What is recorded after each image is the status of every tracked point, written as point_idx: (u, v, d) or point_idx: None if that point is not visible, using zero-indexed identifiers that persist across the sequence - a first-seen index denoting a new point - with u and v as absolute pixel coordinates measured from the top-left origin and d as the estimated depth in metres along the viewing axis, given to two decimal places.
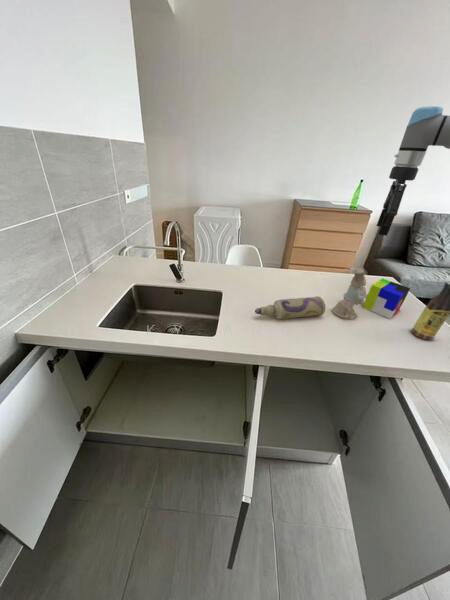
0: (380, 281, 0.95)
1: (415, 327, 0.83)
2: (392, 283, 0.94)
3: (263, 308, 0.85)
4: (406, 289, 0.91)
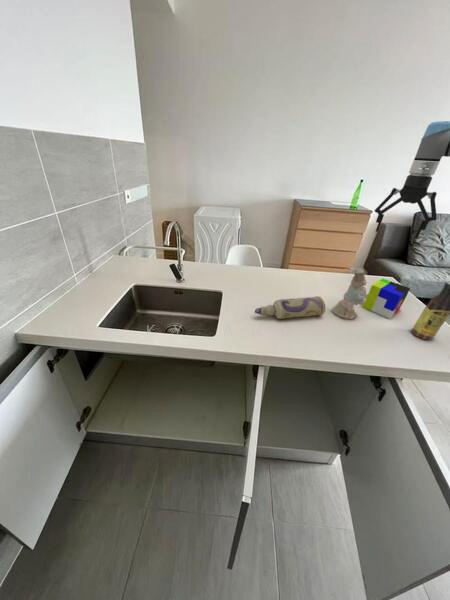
0: (380, 281, 0.95)
1: (415, 327, 0.83)
2: (392, 283, 0.94)
3: (263, 308, 0.85)
4: (406, 289, 0.91)
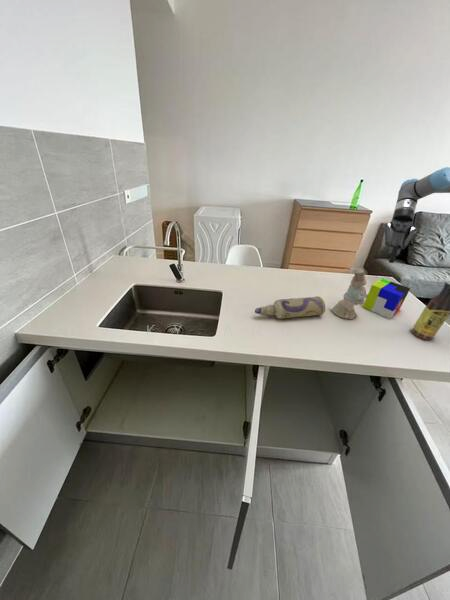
0: (380, 281, 0.95)
1: (415, 327, 0.83)
2: (392, 283, 0.94)
3: (263, 308, 0.85)
4: (406, 289, 0.91)
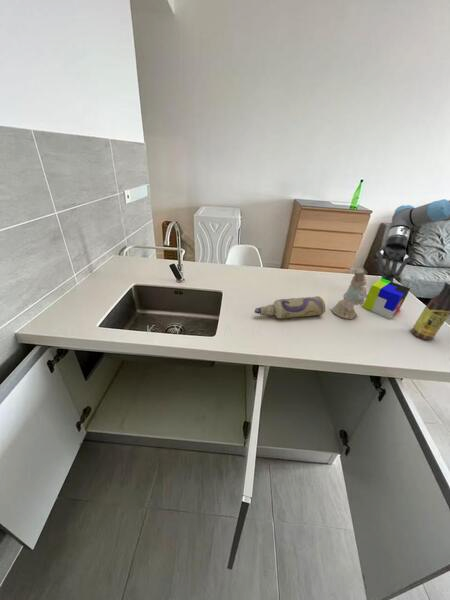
0: (380, 281, 0.95)
1: (415, 327, 0.83)
2: (392, 283, 0.94)
3: (263, 308, 0.85)
4: (406, 289, 0.91)
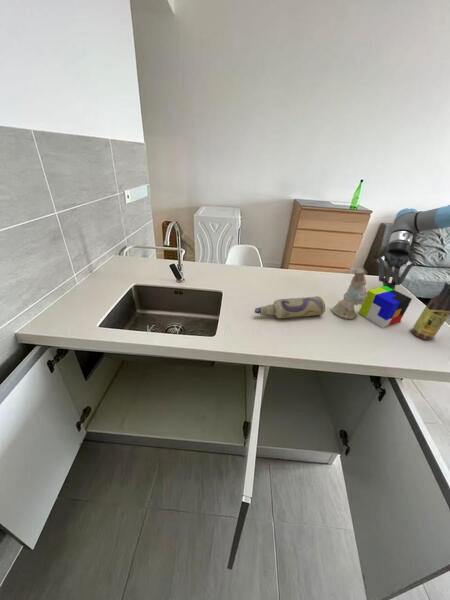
0: (380, 288, 0.90)
1: (415, 327, 0.83)
2: (393, 291, 0.89)
3: (263, 308, 0.85)
4: (405, 299, 0.84)
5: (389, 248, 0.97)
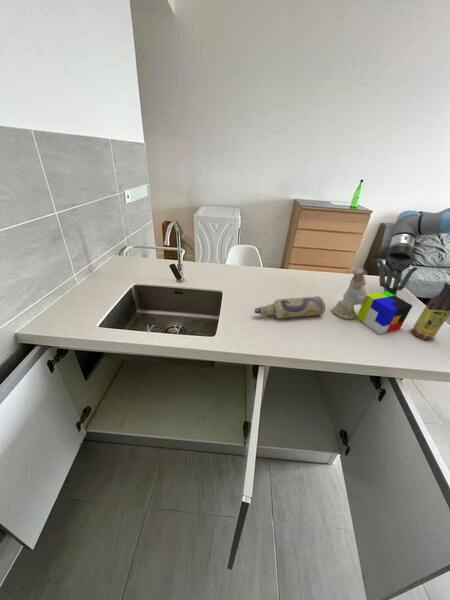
0: (380, 293, 0.87)
1: (415, 327, 0.83)
2: (394, 297, 0.85)
3: (263, 308, 0.85)
4: (405, 305, 0.80)
5: (390, 252, 0.93)
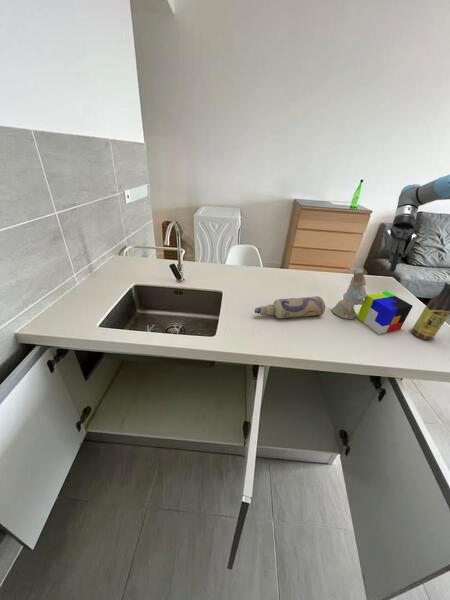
0: (381, 293, 0.87)
1: (415, 327, 0.83)
2: (394, 297, 0.85)
3: (263, 307, 0.85)
4: (405, 305, 0.80)
5: (395, 222, 1.01)
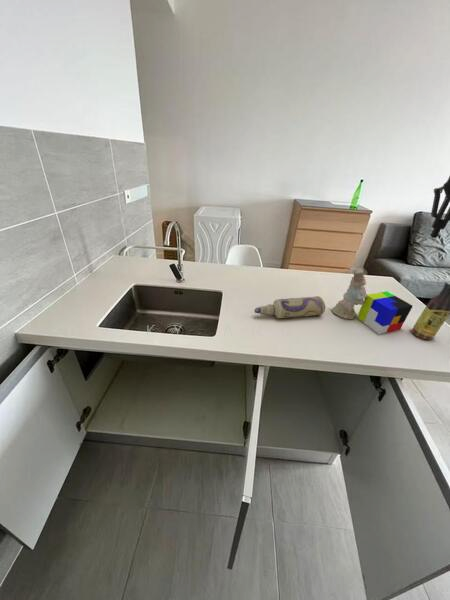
0: (381, 293, 0.87)
1: (415, 327, 0.83)
2: (394, 297, 0.85)
3: (263, 307, 0.86)
4: (405, 305, 0.80)
5: None
